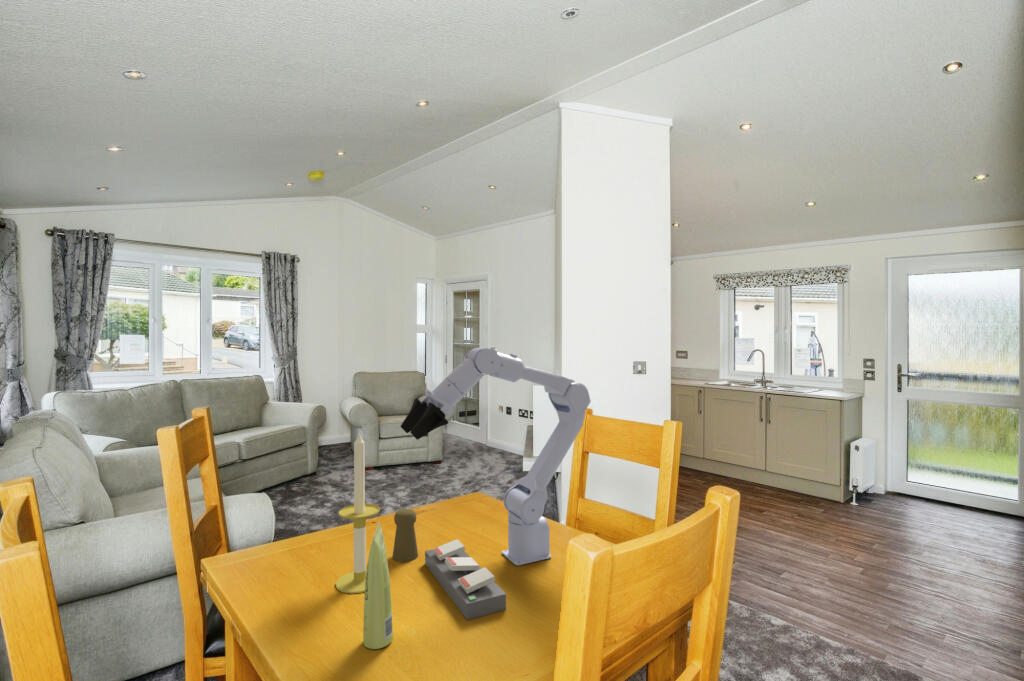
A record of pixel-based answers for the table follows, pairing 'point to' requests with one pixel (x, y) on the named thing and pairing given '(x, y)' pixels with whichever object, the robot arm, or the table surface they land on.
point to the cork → (405, 536)
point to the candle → (357, 524)
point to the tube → (377, 596)
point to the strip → (471, 603)
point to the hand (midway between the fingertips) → (408, 432)
